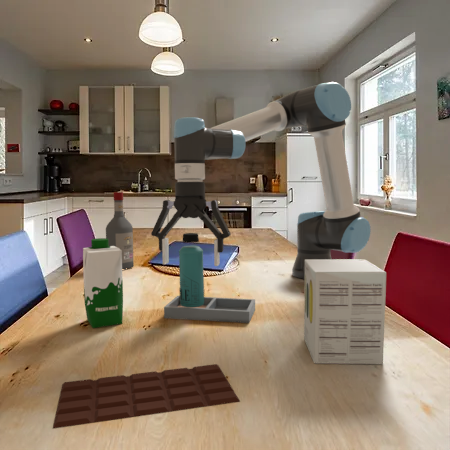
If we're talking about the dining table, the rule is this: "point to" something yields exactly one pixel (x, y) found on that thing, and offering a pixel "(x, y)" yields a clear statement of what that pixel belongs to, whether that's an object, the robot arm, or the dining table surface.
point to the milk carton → (103, 283)
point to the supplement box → (344, 311)
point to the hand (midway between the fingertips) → (191, 264)
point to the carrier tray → (213, 310)
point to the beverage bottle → (191, 273)
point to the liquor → (121, 232)
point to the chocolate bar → (142, 395)
